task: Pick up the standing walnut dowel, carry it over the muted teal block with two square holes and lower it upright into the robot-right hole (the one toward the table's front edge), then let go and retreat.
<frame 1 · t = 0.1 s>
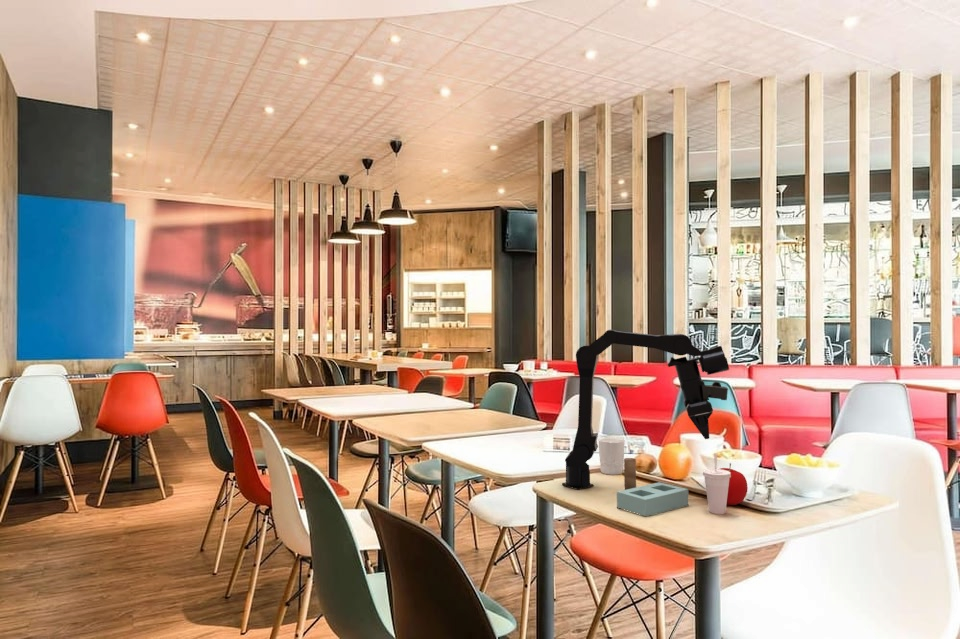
hand: (705, 435, 167), 15 cm above the table, tool pointing down, fingers open, 9 cm apart
hole block: (653, 506, 155), on the table
fruit: (728, 503, 158), on the table
white cup: (611, 472, 192), on the table
smoothie: (717, 512, 151), on the table
peg: (630, 494, 167), on the table
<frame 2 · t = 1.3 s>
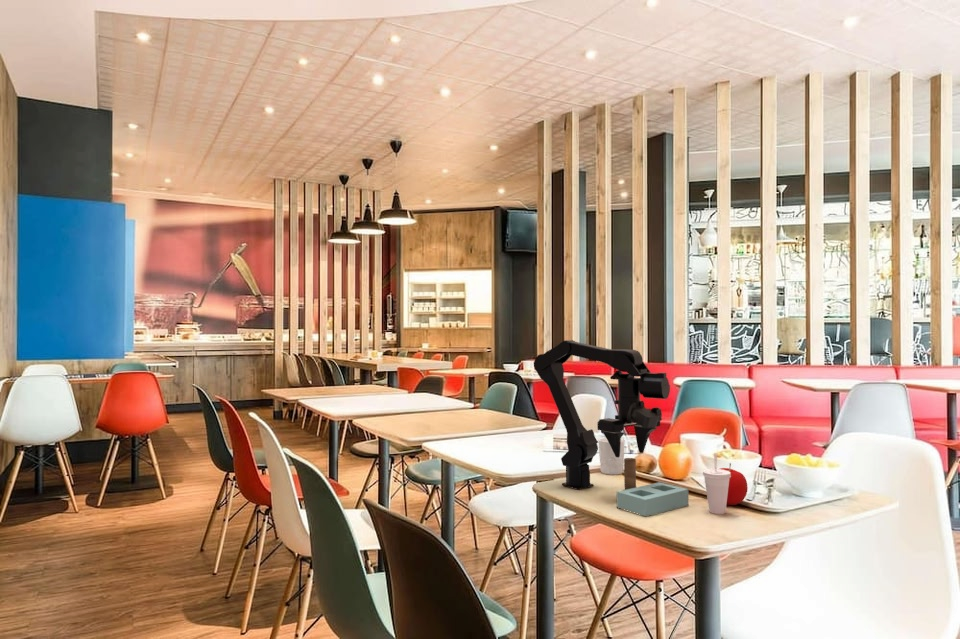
hand: (629, 455, 167), 11 cm above the table, tool pointing down, fingers open, 9 cm apart
nothing on the table moved.
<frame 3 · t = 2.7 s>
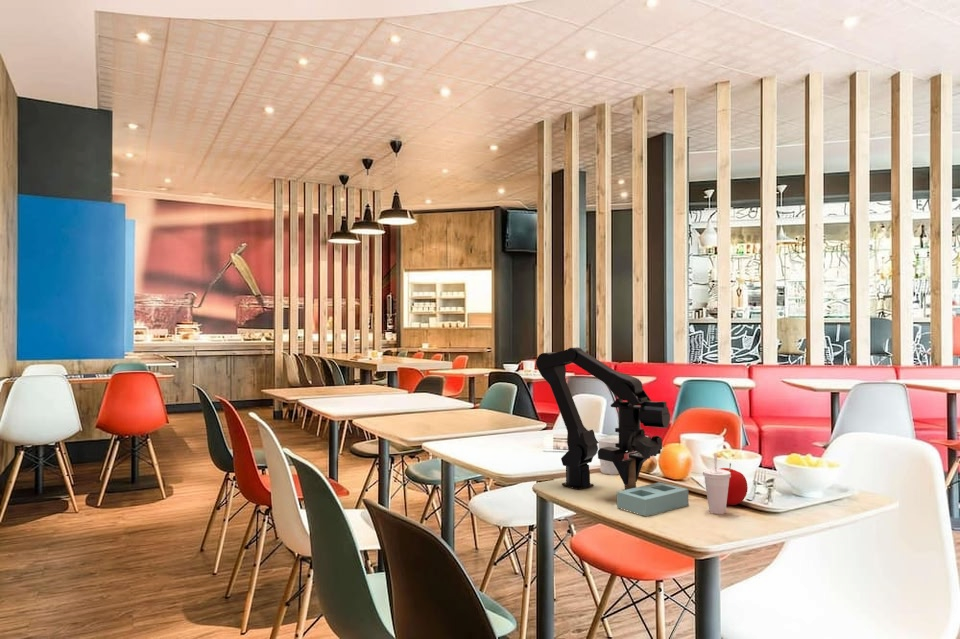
hand: (630, 483, 167), 3 cm above the table, tool pointing down, fingers closed on peg, 3 cm apart
peg: (630, 494, 167), on the table, touching gripper
everything else where it was.
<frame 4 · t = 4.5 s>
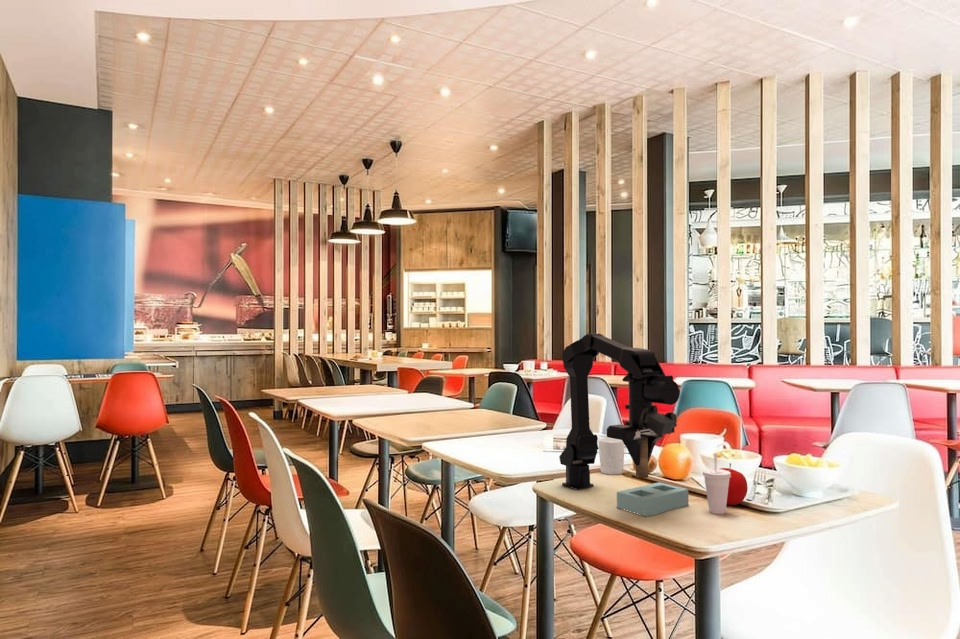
hand: (641, 464, 153), 11 cm above the table, tool pointing down, fingers closed on peg, 3 cm apart
peg: (642, 476, 153), point 8 cm above the table, touching gripper
everything else where it was.
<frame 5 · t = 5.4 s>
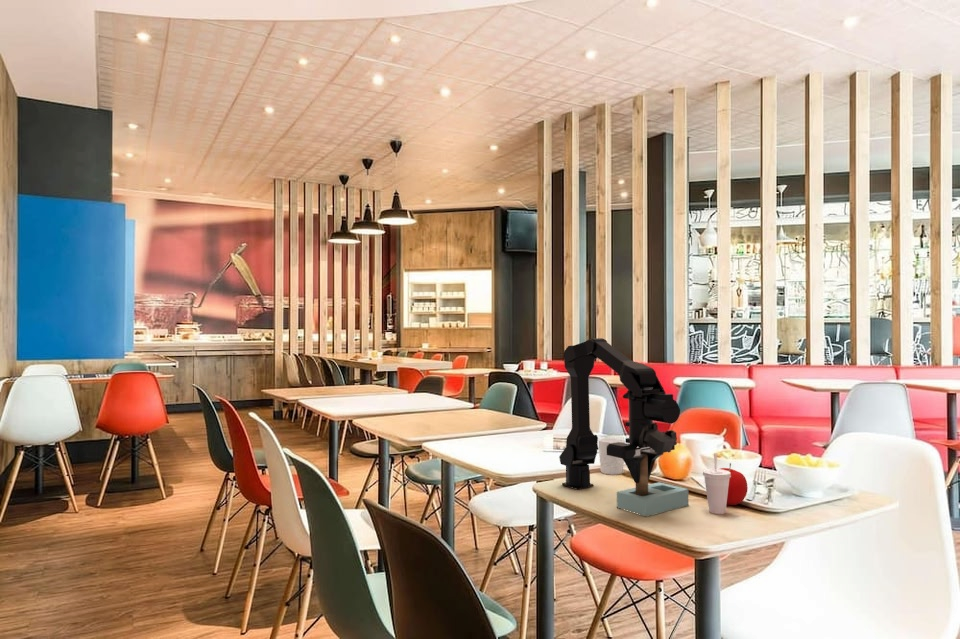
hand: (641, 481, 153), 7 cm above the table, tool pointing down, fingers closed on peg, 3 cm apart
peg: (641, 494, 153), point 4 cm above the table, touching gripper
everything else where it was.
when the fingers open (4 cm above the table, at t = 6.4 s): peg stays where it is, resting in hole block.
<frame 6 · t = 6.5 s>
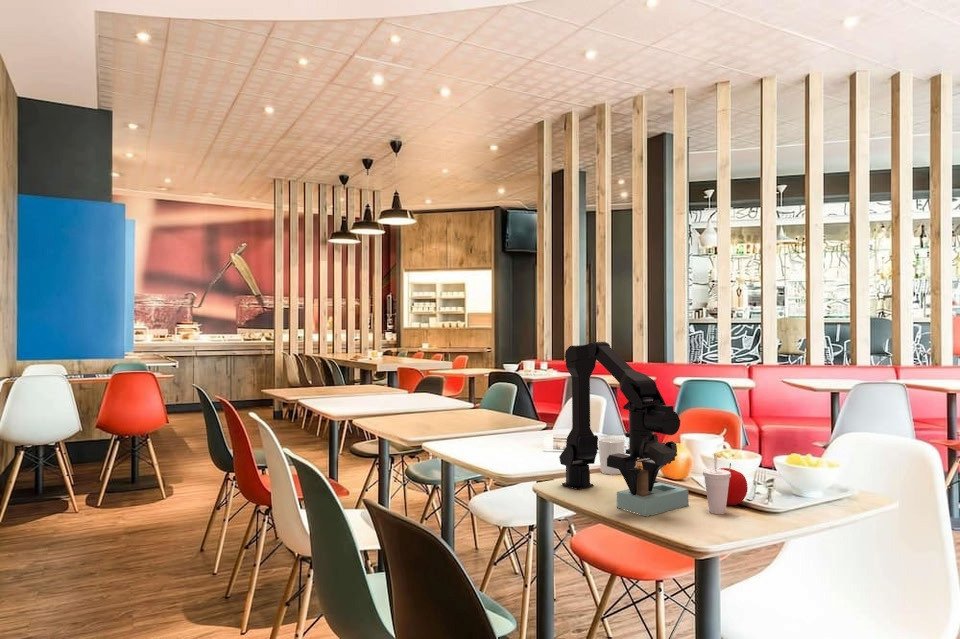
hand: (641, 493, 153), 4 cm above the table, tool pointing down, fingers open, 5 cm apart
peg: (642, 509, 153), resting in hole block
everything else where it was.
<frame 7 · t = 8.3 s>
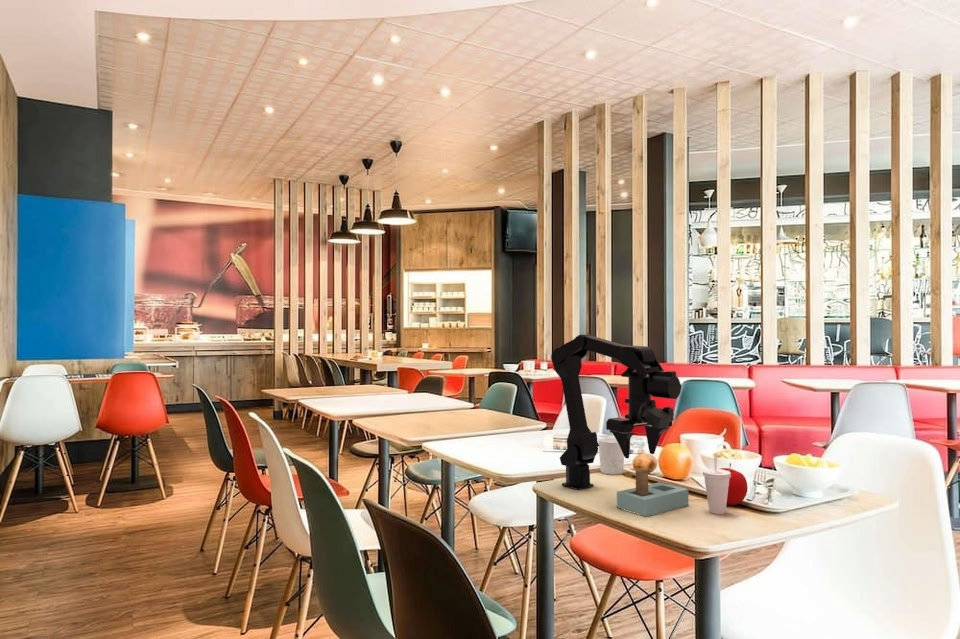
hand: (639, 456, 160), 12 cm above the table, tool pointing down, fingers open, 9 cm apart
nothing on the table moved.
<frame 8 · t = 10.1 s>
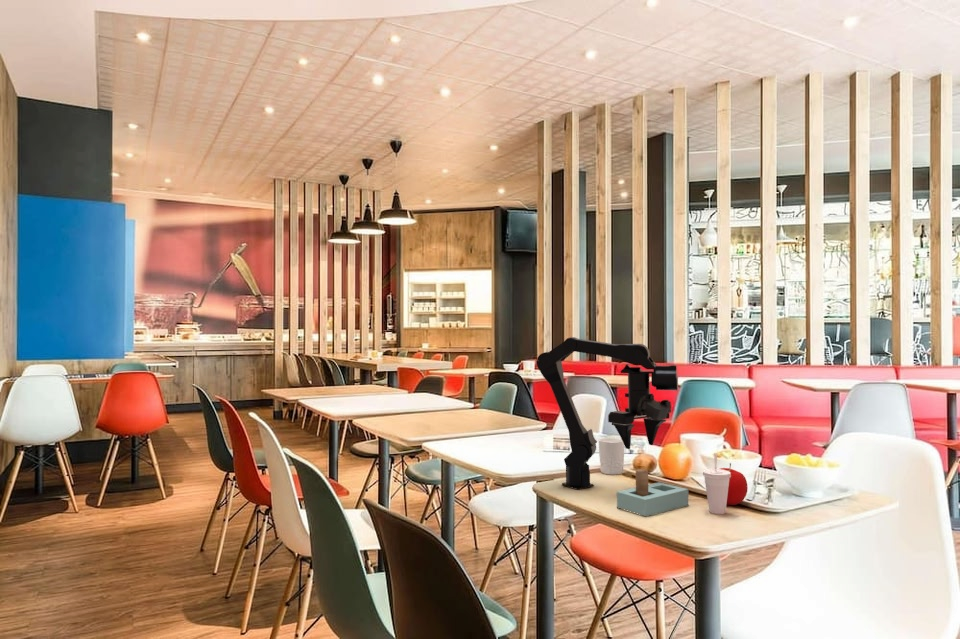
hand: (639, 446, 170), 12 cm above the table, tool pointing down, fingers open, 9 cm apart
nothing on the table moved.
at the end: peg 0.0 cm from the target spot on the hole block, point 0.0 cm above the hole block's base; peg tilted 0°; the gripper is holding nothing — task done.
